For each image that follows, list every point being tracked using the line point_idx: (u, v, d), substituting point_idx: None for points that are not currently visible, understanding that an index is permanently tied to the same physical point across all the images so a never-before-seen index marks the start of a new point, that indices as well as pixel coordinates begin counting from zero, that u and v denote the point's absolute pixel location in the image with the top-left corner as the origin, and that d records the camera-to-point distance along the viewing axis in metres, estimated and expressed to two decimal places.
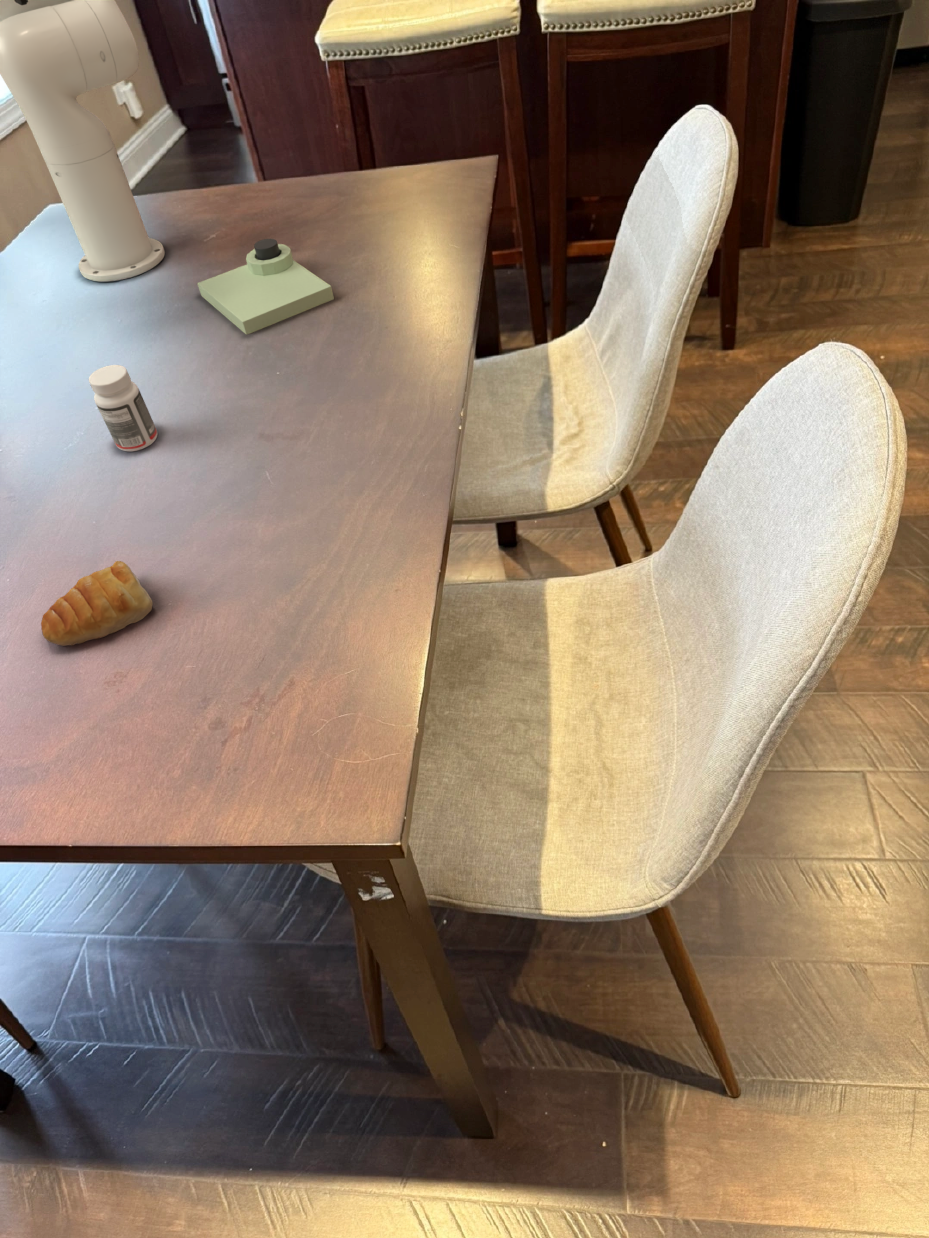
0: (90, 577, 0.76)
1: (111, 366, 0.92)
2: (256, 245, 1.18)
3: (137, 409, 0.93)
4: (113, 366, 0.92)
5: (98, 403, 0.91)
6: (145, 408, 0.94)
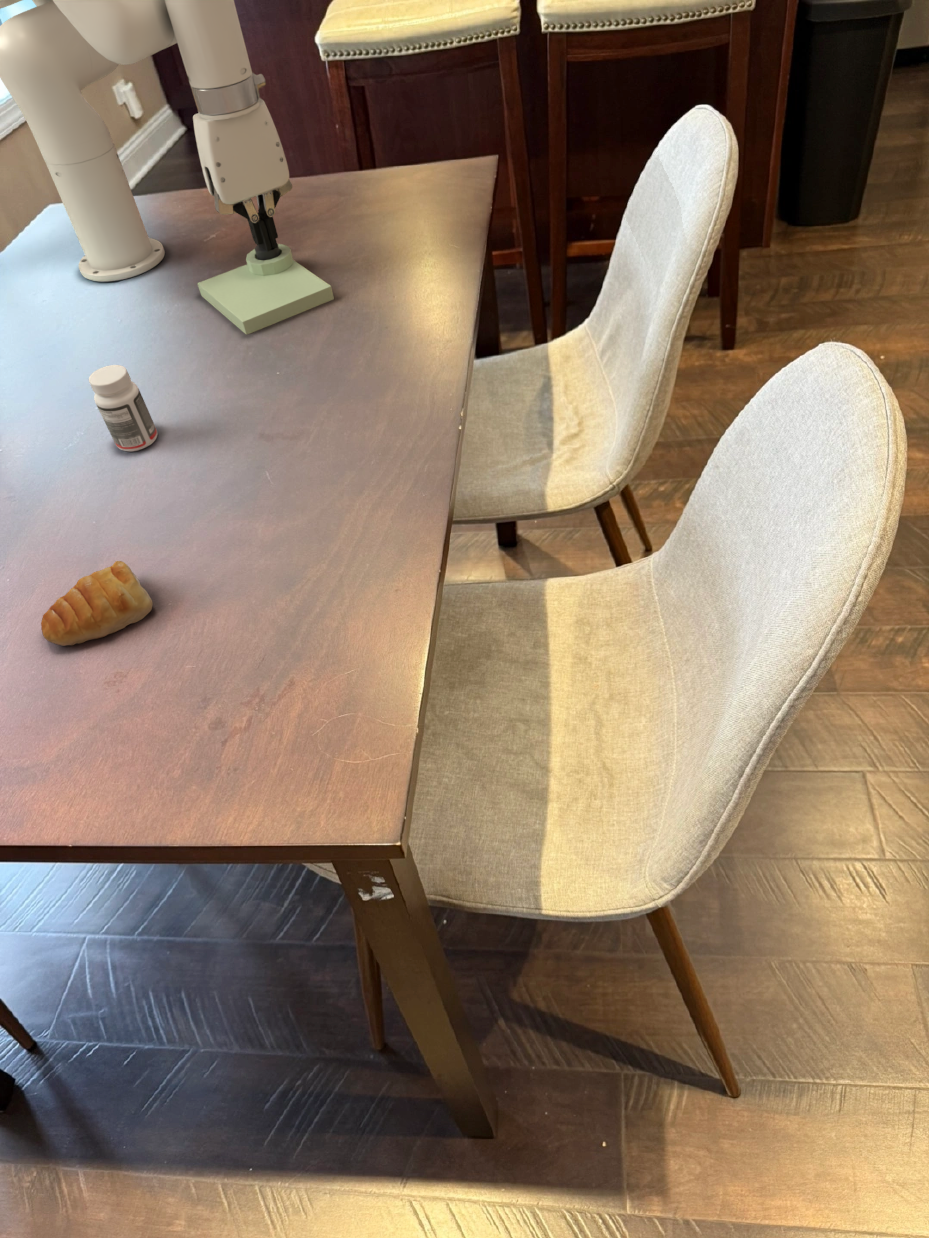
0: (90, 577, 0.76)
1: (111, 366, 0.92)
2: (257, 248, 1.18)
3: (137, 409, 0.93)
4: (113, 366, 0.92)
5: (98, 403, 0.91)
6: (145, 408, 0.94)
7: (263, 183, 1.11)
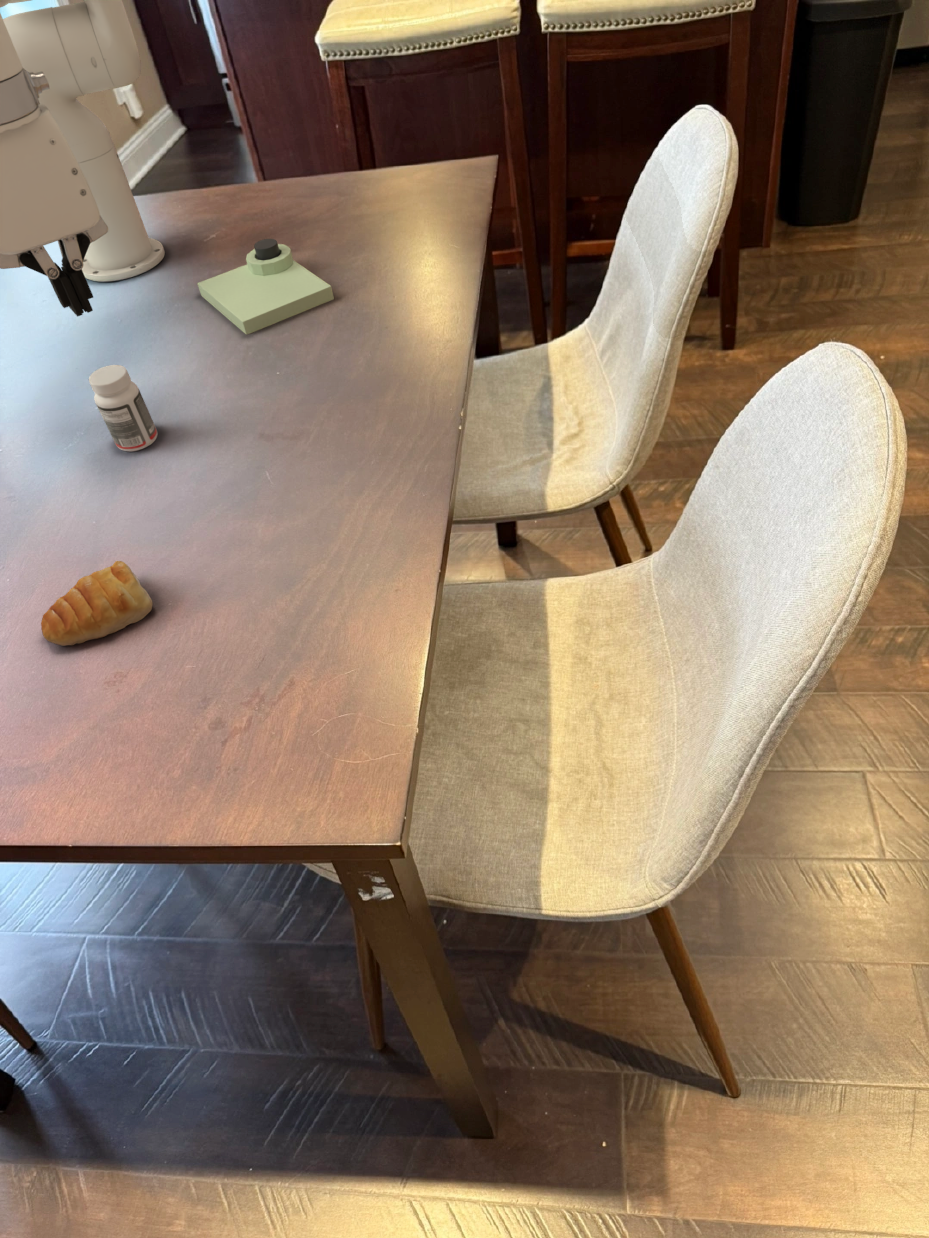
0: (90, 577, 0.76)
1: (111, 366, 0.92)
2: (256, 245, 1.18)
3: (137, 409, 0.93)
4: (113, 366, 0.92)
5: (98, 403, 0.91)
6: (145, 408, 0.94)
7: (58, 225, 0.79)
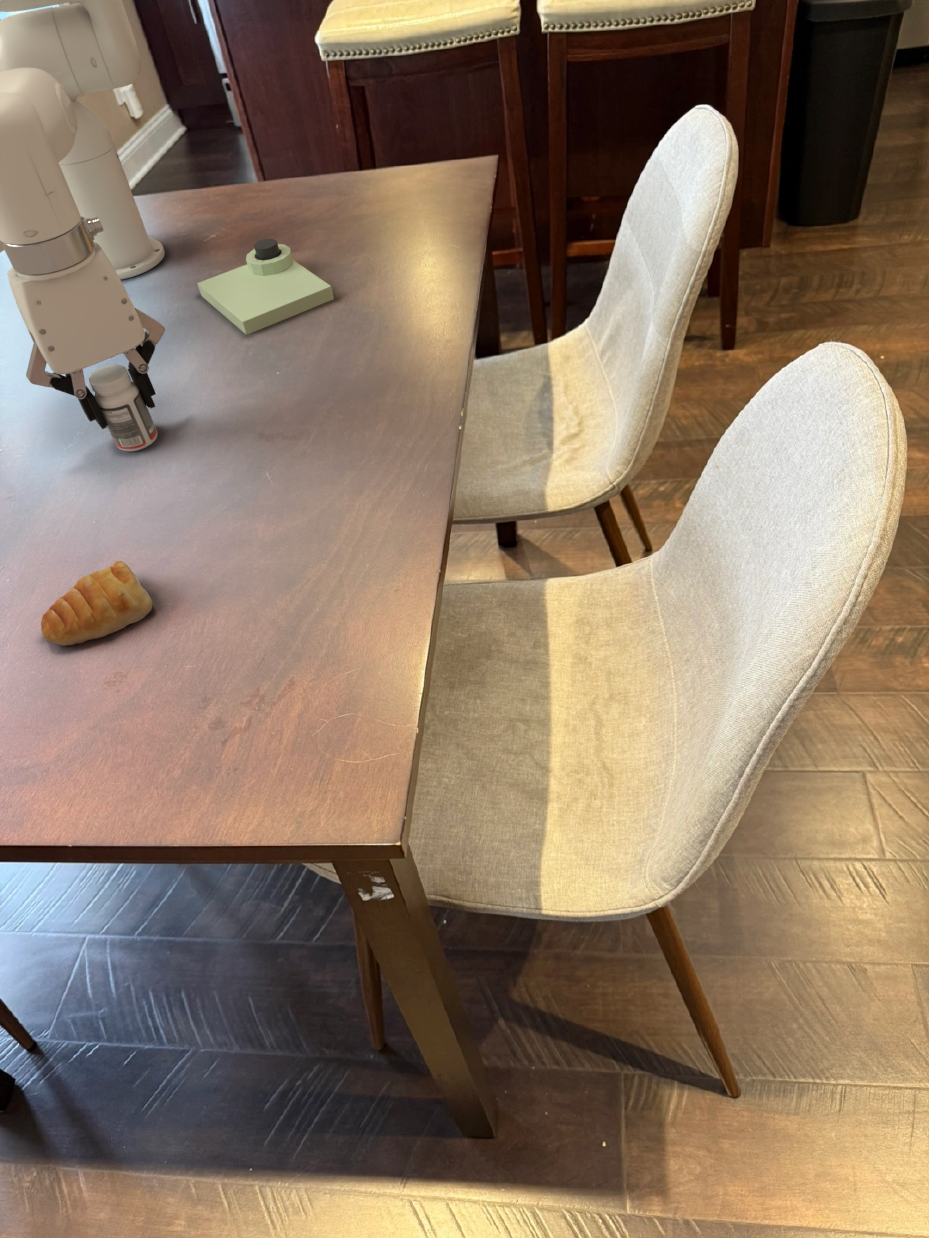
0: (90, 577, 0.76)
1: (111, 366, 0.92)
2: (256, 245, 1.18)
3: (137, 409, 0.93)
4: (113, 366, 0.92)
5: (98, 403, 0.91)
6: (145, 408, 0.94)
7: (108, 347, 0.87)
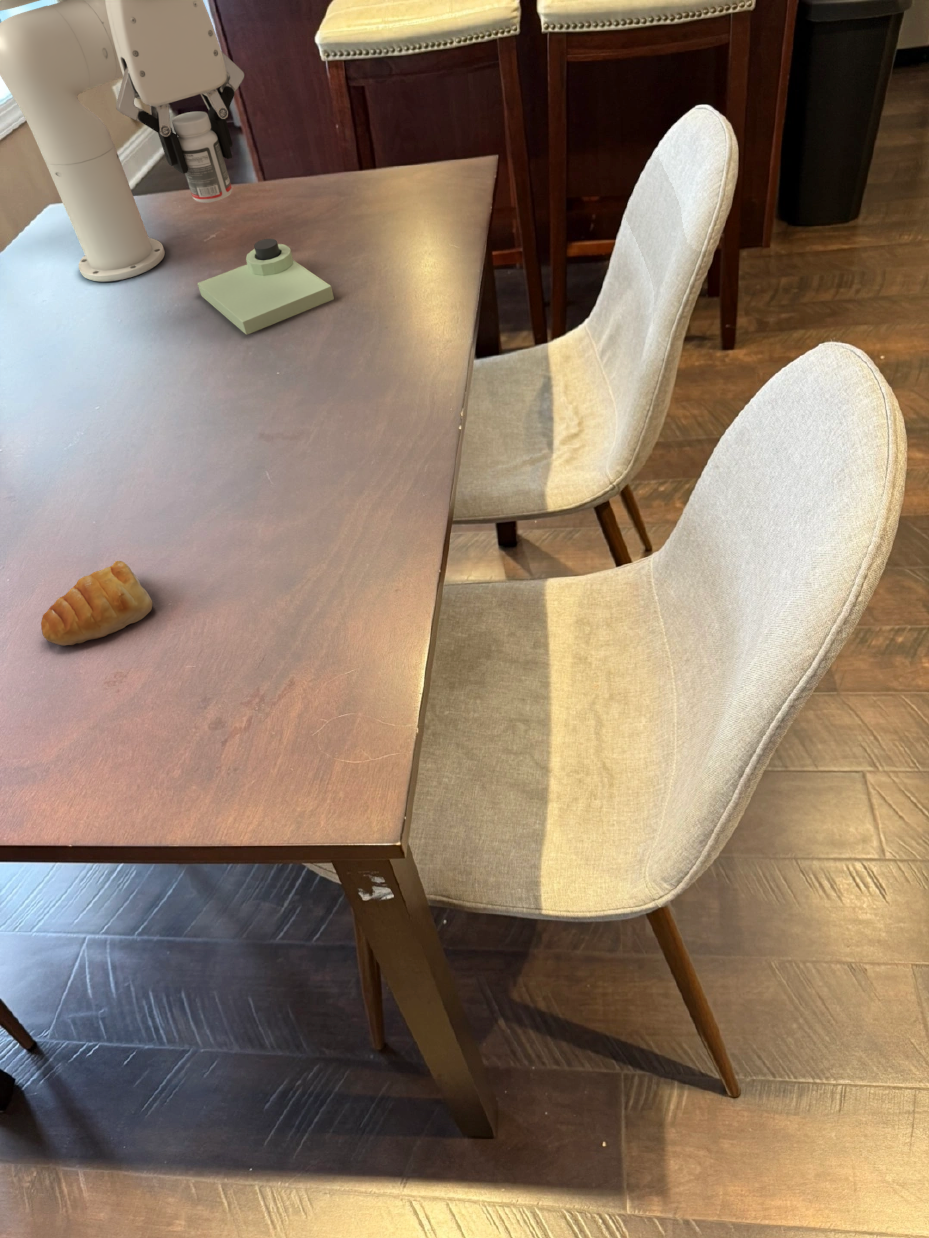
0: (90, 577, 0.76)
1: (192, 112, 0.96)
2: (256, 245, 1.18)
3: (216, 156, 0.97)
4: (194, 112, 0.96)
5: None
6: (222, 158, 0.99)
7: (193, 82, 0.92)
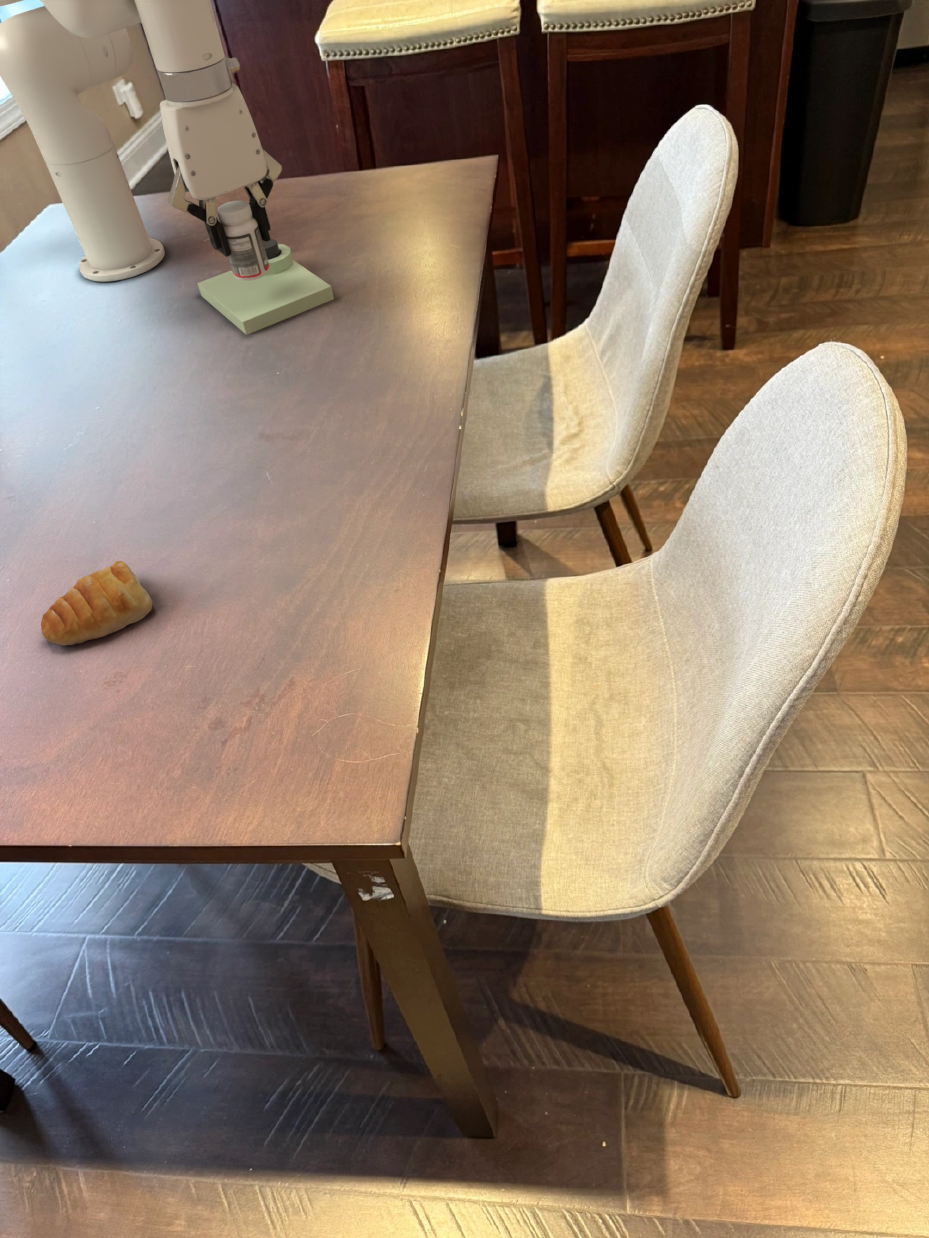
0: (90, 577, 0.76)
1: (235, 201, 1.06)
2: None
3: (256, 240, 1.07)
4: (236, 201, 1.06)
5: None
6: (262, 241, 1.08)
7: (238, 177, 1.01)
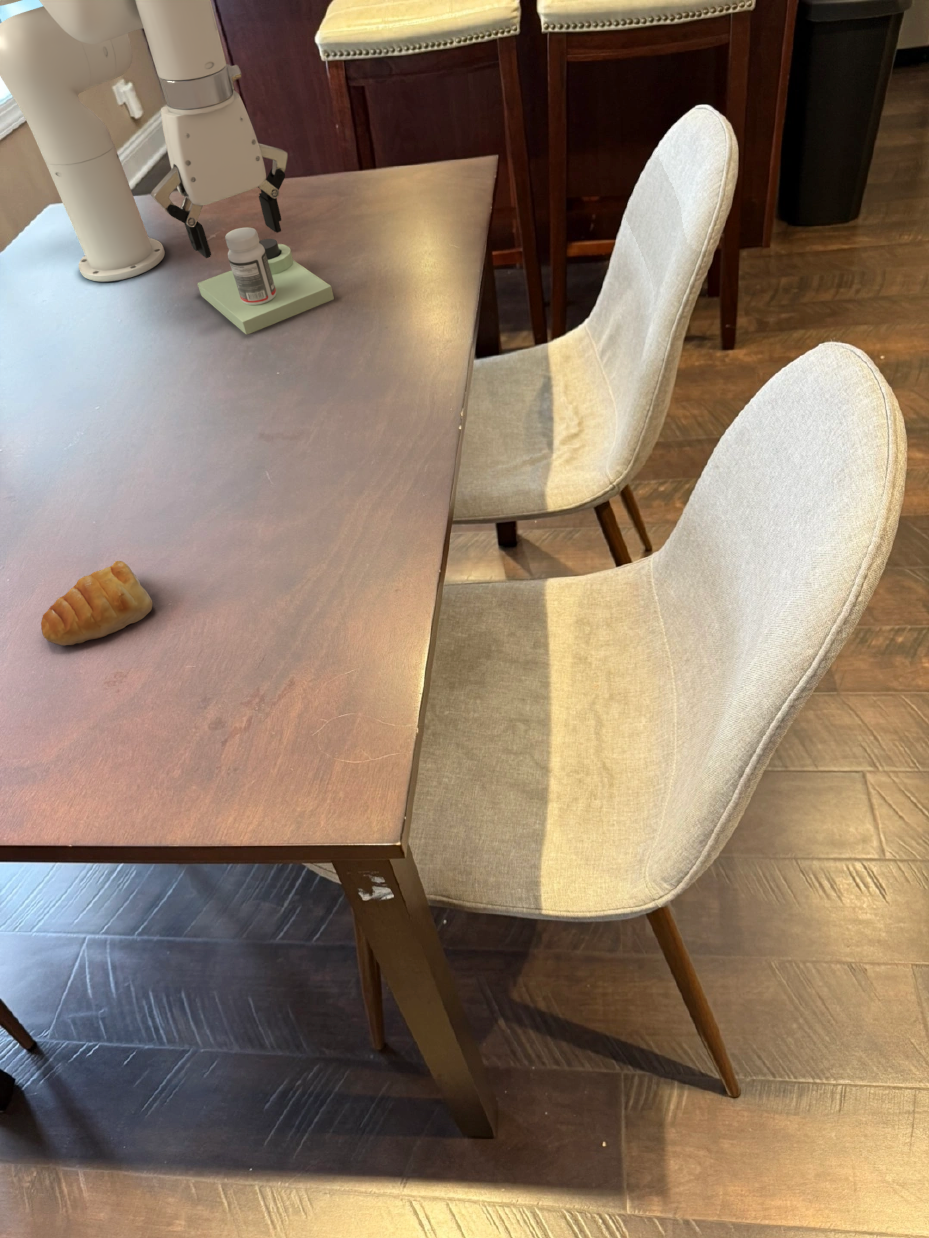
0: (90, 577, 0.76)
1: (242, 228, 1.08)
2: None
3: (263, 266, 1.09)
4: (244, 228, 1.08)
5: (232, 259, 1.08)
6: None
7: (237, 184, 1.02)
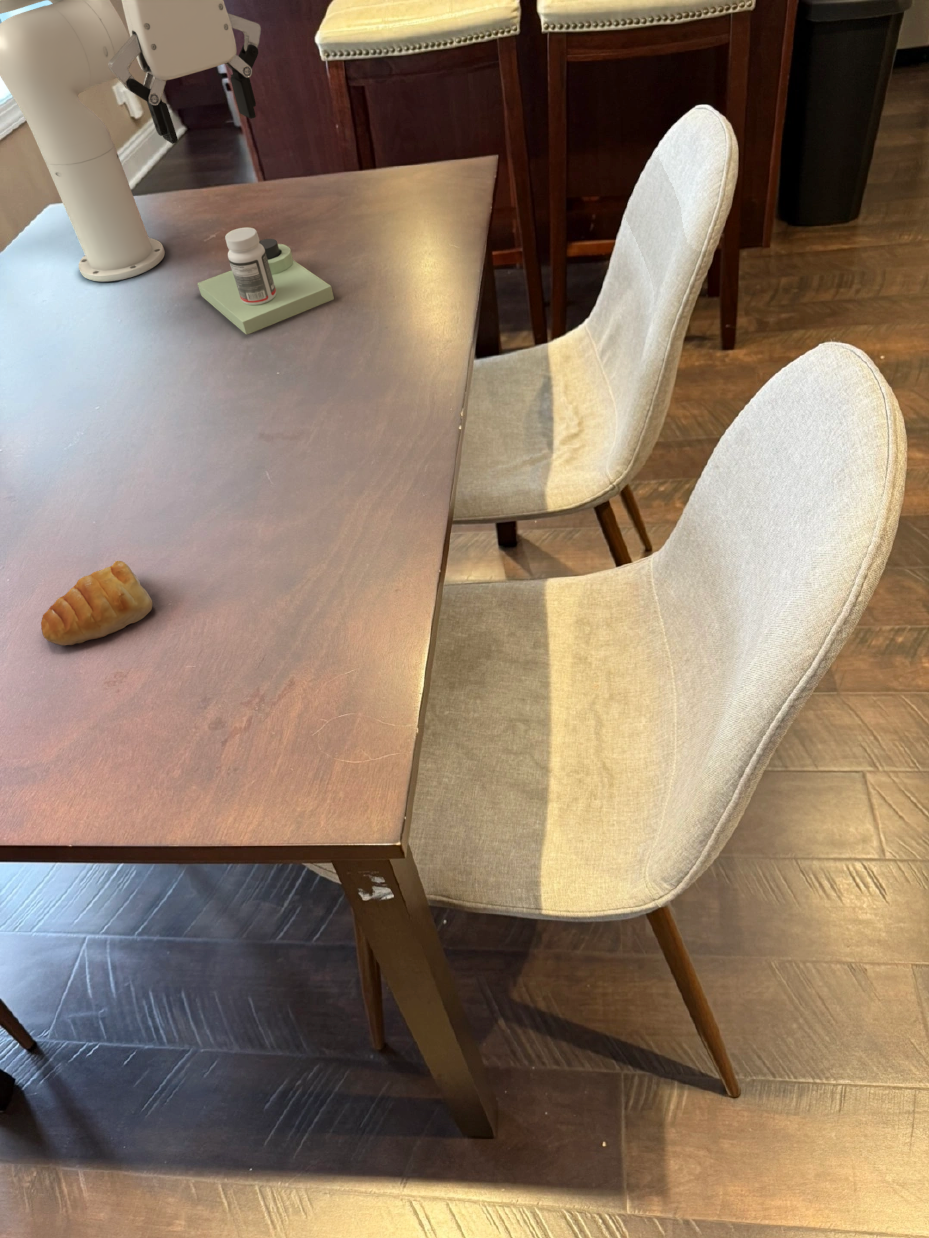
0: (90, 577, 0.76)
1: (242, 228, 1.08)
2: None
3: (263, 266, 1.09)
4: (244, 228, 1.08)
5: (232, 259, 1.08)
6: None
7: (204, 55, 0.92)
